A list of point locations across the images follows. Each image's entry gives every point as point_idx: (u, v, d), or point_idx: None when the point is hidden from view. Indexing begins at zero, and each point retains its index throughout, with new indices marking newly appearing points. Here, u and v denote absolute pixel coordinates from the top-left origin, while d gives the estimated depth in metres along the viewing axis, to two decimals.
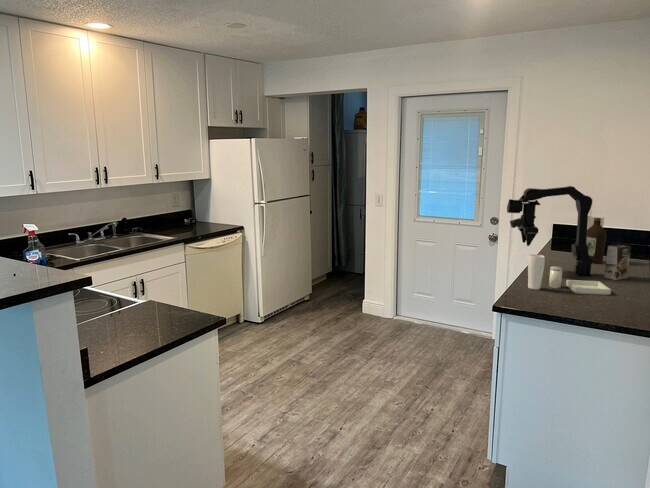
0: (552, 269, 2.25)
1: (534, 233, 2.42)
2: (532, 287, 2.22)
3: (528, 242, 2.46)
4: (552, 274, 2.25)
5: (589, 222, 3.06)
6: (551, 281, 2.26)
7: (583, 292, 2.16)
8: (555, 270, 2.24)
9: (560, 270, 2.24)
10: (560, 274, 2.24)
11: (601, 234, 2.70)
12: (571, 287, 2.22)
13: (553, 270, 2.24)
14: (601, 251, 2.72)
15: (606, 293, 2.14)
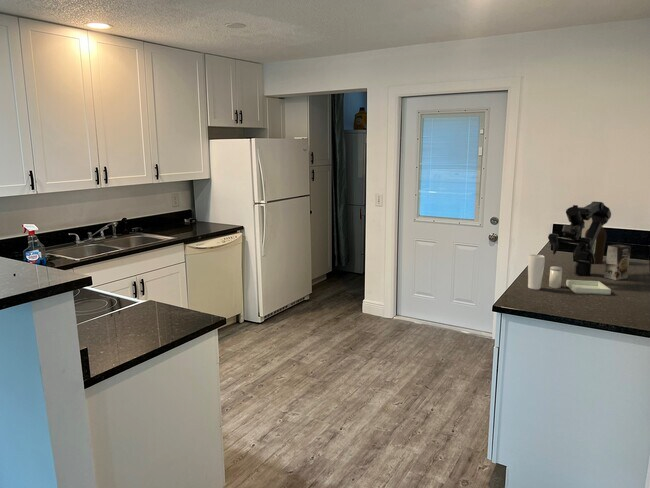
0: (552, 269, 2.25)
1: (587, 248, 2.28)
2: (532, 287, 2.22)
3: (577, 253, 2.27)
4: (552, 274, 2.25)
5: (589, 222, 3.06)
6: (551, 281, 2.26)
7: (583, 292, 2.16)
8: (555, 270, 2.24)
9: (560, 270, 2.24)
10: (560, 274, 2.24)
11: (601, 234, 2.70)
12: (571, 287, 2.22)
13: (553, 270, 2.24)
14: (601, 251, 2.72)
15: (606, 293, 2.14)
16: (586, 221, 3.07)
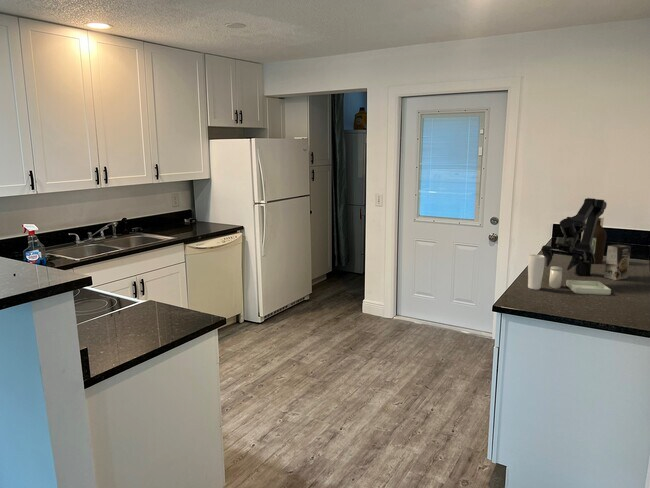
0: (552, 269, 2.25)
1: (581, 260, 2.24)
2: (532, 287, 2.22)
3: (570, 266, 2.23)
4: (552, 274, 2.25)
5: None
6: (551, 281, 2.26)
7: (583, 292, 2.16)
8: (555, 270, 2.24)
9: (560, 270, 2.23)
10: (560, 274, 2.24)
11: (601, 234, 2.70)
12: (571, 287, 2.22)
13: (553, 270, 2.24)
14: (601, 251, 2.72)
15: (606, 293, 2.14)
16: (586, 221, 3.07)
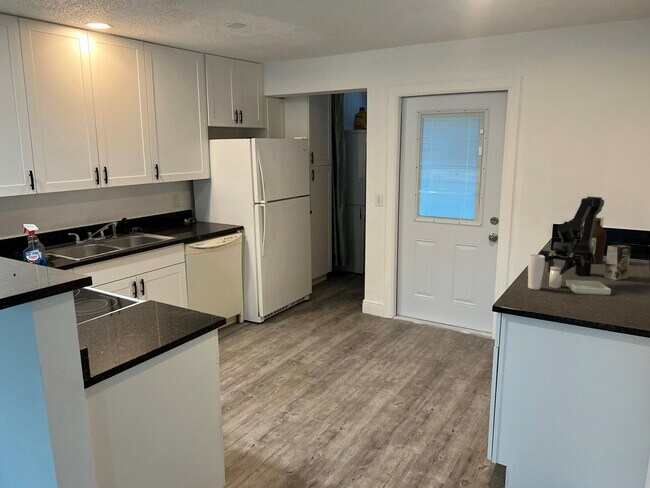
0: (552, 269, 2.25)
1: (574, 265, 2.24)
2: (532, 287, 2.22)
3: (563, 271, 2.23)
4: (552, 274, 2.25)
5: None
6: (551, 281, 2.26)
7: (583, 292, 2.16)
8: (555, 270, 2.24)
9: (560, 270, 2.24)
10: (560, 274, 2.24)
11: (601, 234, 2.70)
12: (571, 287, 2.22)
13: (553, 270, 2.24)
14: (601, 251, 2.72)
15: (606, 293, 2.14)
16: None
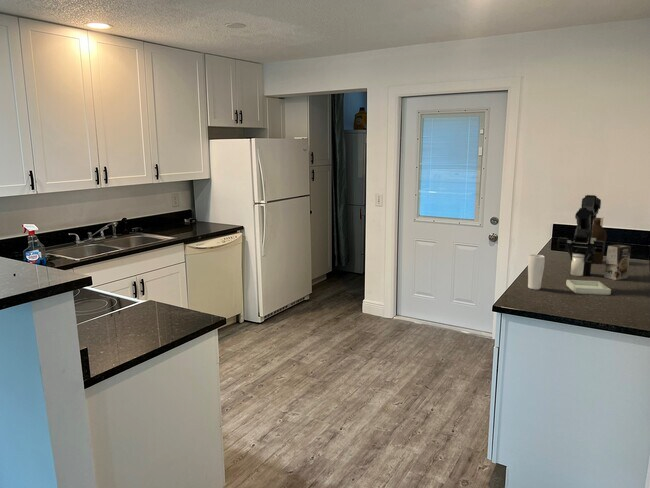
0: (575, 256, 2.19)
1: (595, 251, 2.21)
2: (532, 287, 2.22)
3: (587, 257, 2.19)
4: (576, 262, 2.19)
5: None
6: (575, 269, 2.20)
7: (583, 292, 2.16)
8: (579, 257, 2.18)
9: (583, 257, 2.19)
10: (583, 261, 2.19)
11: (601, 234, 2.70)
12: (571, 287, 2.22)
13: (577, 257, 2.19)
14: None
15: (606, 293, 2.14)
16: None
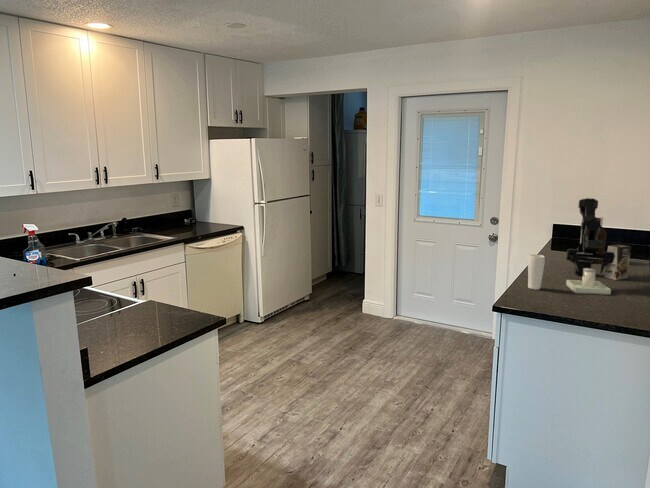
0: (588, 271, 2.19)
1: (609, 262, 2.21)
2: (532, 287, 2.22)
3: None
4: (588, 276, 2.19)
5: None
6: (587, 283, 2.20)
7: (583, 292, 2.16)
8: (591, 271, 2.18)
9: (595, 271, 2.19)
10: (595, 274, 2.19)
11: (601, 234, 2.70)
12: (571, 287, 2.22)
13: (589, 272, 2.19)
14: (601, 251, 2.72)
15: (606, 293, 2.14)
16: None
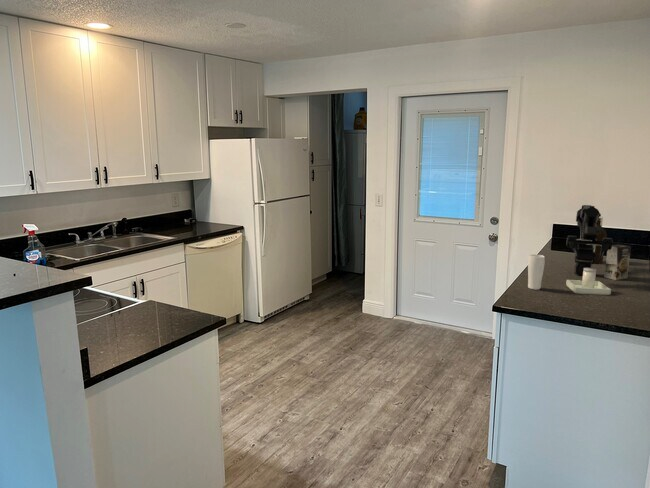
0: (588, 271, 2.19)
1: (608, 248, 2.28)
2: (532, 287, 2.22)
3: None
4: (588, 276, 2.19)
5: None
6: (587, 284, 2.20)
7: (583, 292, 2.16)
8: (591, 272, 2.18)
9: (595, 271, 2.19)
10: (595, 275, 2.19)
11: (601, 234, 2.70)
12: (571, 287, 2.22)
13: (589, 272, 2.18)
14: None
15: (606, 293, 2.14)
16: None
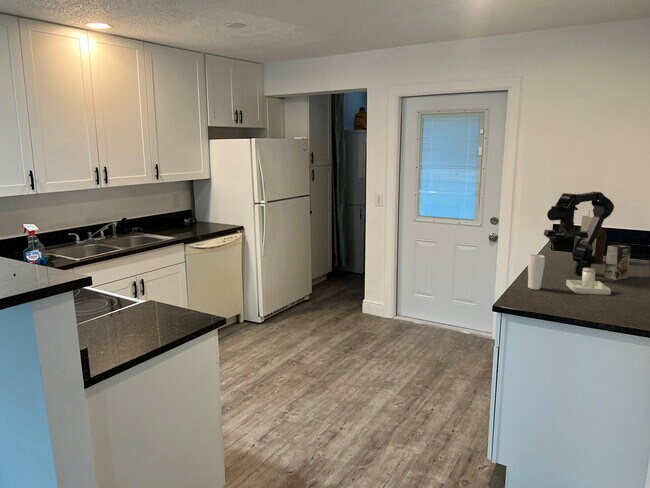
0: (587, 271, 2.19)
1: None
2: (532, 287, 2.22)
3: None
4: (587, 276, 2.19)
5: (587, 222, 3.06)
6: (587, 284, 2.20)
7: (583, 292, 2.16)
8: (591, 272, 2.18)
9: (594, 271, 2.19)
10: (594, 275, 2.19)
11: (601, 234, 2.70)
12: (571, 287, 2.22)
13: (589, 272, 2.19)
14: (601, 251, 2.72)
15: (606, 293, 2.14)
16: (585, 221, 3.07)
